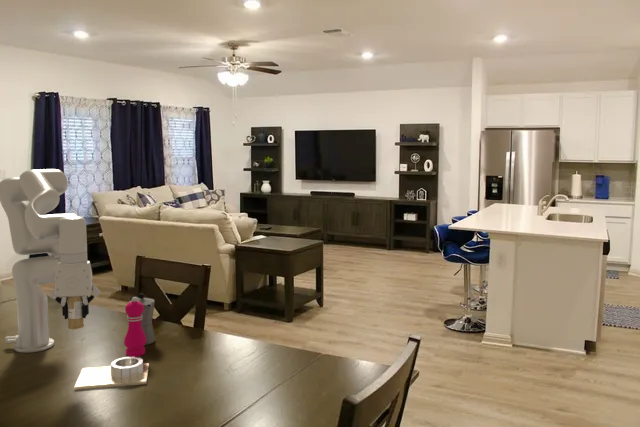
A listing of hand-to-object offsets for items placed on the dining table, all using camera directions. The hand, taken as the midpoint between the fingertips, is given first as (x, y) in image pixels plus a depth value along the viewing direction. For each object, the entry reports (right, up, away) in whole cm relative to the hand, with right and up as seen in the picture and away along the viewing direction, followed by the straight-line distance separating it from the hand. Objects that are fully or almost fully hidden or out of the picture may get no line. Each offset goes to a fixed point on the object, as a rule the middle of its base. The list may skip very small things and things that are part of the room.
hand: (75, 316), depth 164 cm
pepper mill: (+10, -17, +23) cm, 31 cm away
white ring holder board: (+10, -19, +3) cm, 22 cm away
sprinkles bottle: (0, -4, 0) cm, 4 cm away
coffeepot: (+8, -16, +36) cm, 40 cm away
